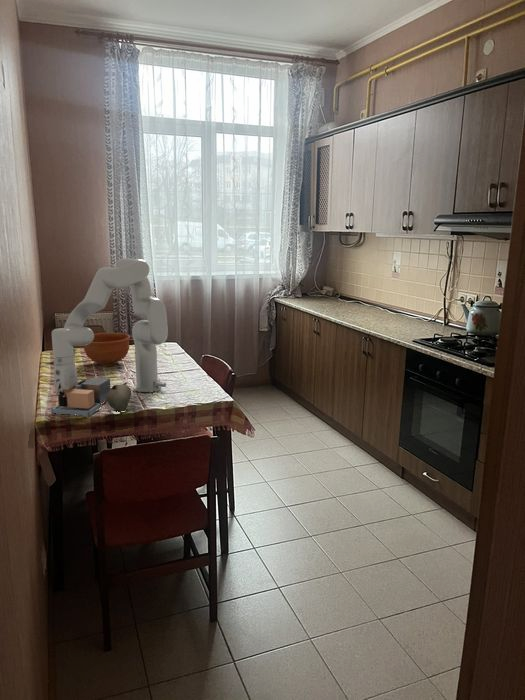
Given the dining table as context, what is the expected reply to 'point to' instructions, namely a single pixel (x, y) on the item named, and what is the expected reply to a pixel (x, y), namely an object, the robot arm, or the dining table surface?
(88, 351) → the bowl
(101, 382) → the dispenser
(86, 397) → the tan rectangular block
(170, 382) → the dining table surface
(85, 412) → the tray
